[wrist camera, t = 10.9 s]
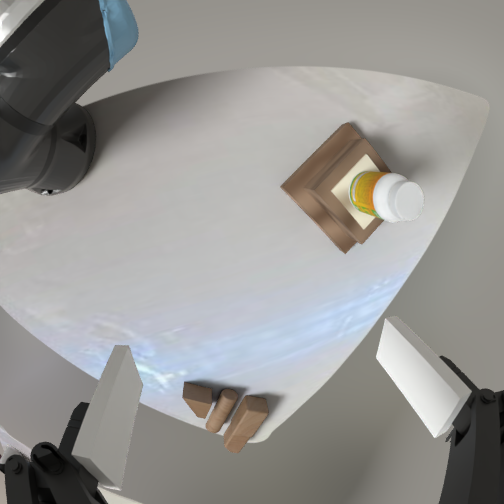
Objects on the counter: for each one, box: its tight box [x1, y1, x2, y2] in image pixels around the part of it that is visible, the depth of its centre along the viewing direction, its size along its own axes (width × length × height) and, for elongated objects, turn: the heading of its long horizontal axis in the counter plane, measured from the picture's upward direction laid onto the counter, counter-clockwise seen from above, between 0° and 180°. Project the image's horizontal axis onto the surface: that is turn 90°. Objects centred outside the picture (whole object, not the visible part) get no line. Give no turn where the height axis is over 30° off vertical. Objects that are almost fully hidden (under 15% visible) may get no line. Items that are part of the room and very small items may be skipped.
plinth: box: [280, 123, 391, 254], centre depth 36 cm, size 14×14×7 cm
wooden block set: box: [182, 382, 269, 453], centre depth 48 cm, size 17×6×18 cm
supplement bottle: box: [348, 171, 424, 223], centre depth 28 cm, size 5×5×10 cm
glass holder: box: [0, 444, 23, 474], centre depth 49 cm, size 9×14×15 cm, turn 26°
